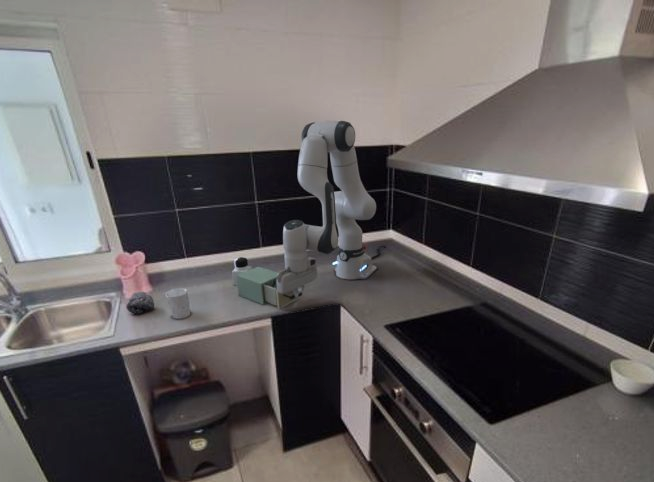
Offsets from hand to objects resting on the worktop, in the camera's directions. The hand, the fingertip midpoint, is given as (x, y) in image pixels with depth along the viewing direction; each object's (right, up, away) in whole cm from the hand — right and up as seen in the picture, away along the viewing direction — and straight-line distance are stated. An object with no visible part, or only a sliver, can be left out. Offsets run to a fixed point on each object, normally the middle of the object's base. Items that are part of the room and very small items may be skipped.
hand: (298, 296), depth 153 cm
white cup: (-47, -8, -1) cm, 48 cm away
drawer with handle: (-8, -1, +8) cm, 12 cm away
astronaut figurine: (-29, +8, +27) cm, 40 cm away
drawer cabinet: (-18, +1, +15) cm, 23 cm away
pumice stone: (-65, -6, +3) cm, 66 cm away
